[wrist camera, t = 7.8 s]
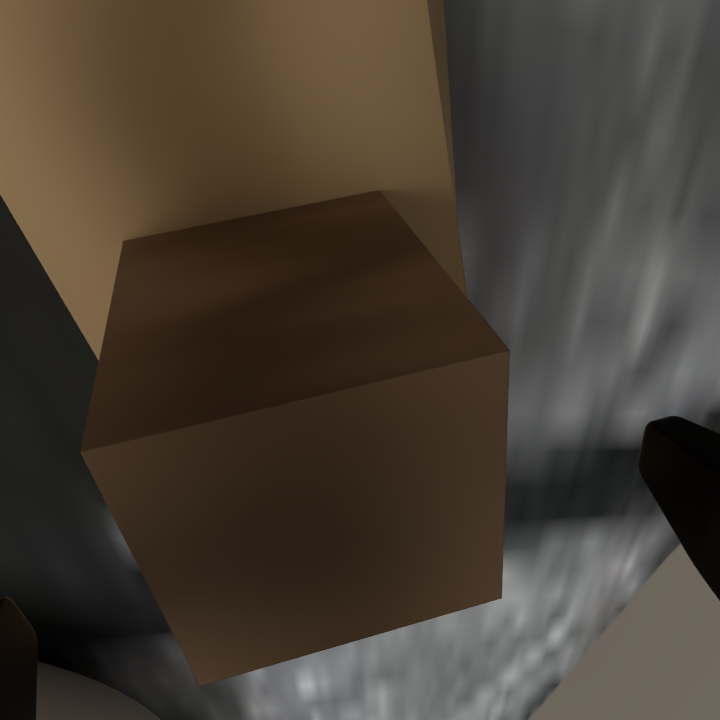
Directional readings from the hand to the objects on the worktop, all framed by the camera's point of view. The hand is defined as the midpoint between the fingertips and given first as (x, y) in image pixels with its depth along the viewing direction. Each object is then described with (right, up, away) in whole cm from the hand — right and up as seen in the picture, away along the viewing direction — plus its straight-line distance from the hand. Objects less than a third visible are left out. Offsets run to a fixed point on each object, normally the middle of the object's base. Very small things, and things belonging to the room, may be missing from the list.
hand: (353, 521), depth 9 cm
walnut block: (-2, +3, +5) cm, 6 cm away
